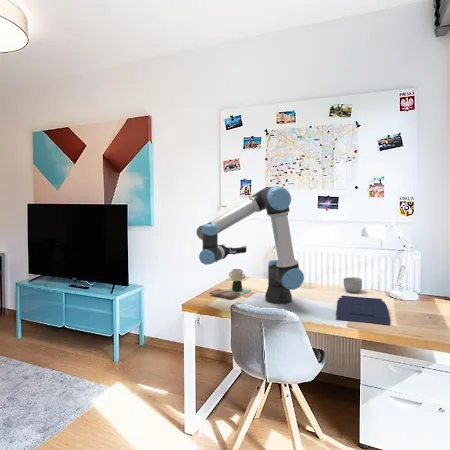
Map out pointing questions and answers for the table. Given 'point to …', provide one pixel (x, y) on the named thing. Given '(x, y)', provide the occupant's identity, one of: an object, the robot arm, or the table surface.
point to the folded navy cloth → (362, 310)
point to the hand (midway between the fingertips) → (234, 246)
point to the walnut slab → (224, 293)
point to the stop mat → (240, 291)
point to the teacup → (352, 284)
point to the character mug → (236, 279)
